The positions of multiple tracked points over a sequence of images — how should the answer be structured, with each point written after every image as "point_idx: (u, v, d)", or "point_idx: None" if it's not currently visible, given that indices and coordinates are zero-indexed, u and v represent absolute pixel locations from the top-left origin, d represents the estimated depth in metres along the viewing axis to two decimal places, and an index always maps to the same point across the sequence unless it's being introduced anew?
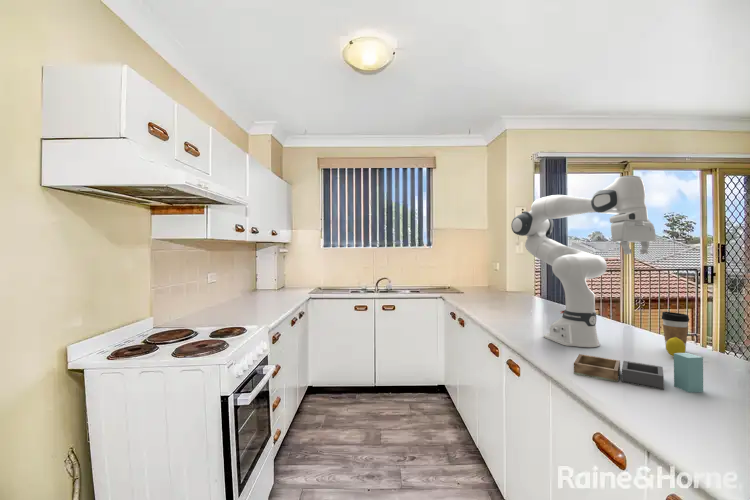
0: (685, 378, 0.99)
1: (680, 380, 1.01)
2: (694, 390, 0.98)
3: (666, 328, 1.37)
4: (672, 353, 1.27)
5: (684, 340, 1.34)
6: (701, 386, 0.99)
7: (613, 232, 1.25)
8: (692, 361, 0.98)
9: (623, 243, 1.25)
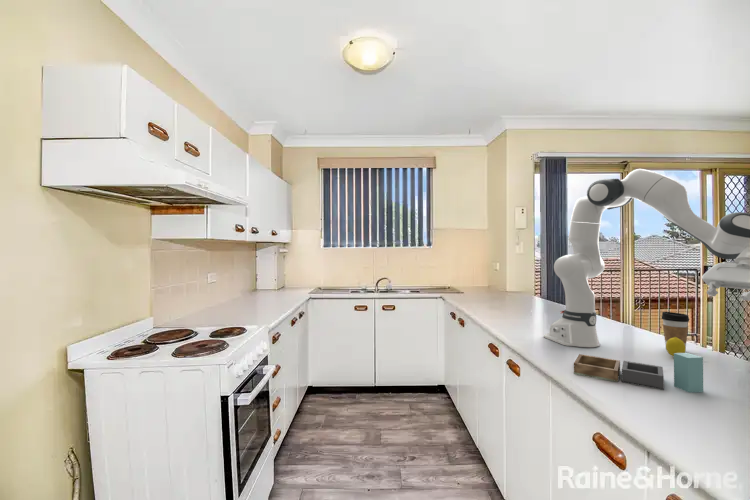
0: (685, 378, 0.99)
1: (680, 380, 1.01)
2: (694, 390, 0.98)
3: (666, 328, 1.37)
4: (672, 353, 1.27)
5: (684, 340, 1.34)
6: (701, 386, 0.99)
7: None
8: (692, 361, 0.98)
9: None
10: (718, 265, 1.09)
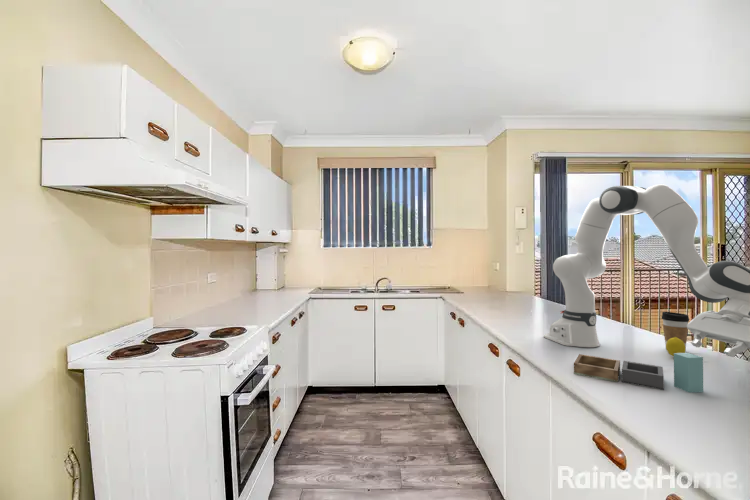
0: (684, 378, 0.99)
1: (680, 380, 1.01)
2: (694, 390, 0.98)
3: (666, 328, 1.37)
4: (672, 353, 1.27)
5: (684, 340, 1.34)
6: (701, 386, 0.99)
7: None
8: (692, 361, 0.98)
9: (744, 346, 0.95)
10: (703, 314, 1.09)
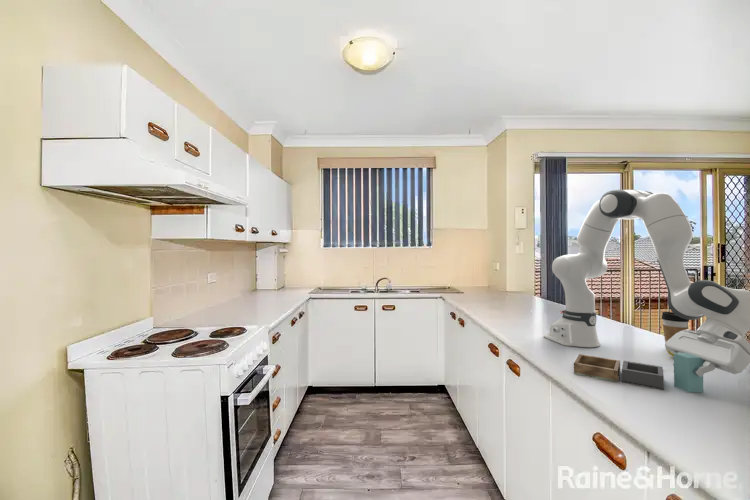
0: (684, 378, 0.99)
1: (680, 380, 1.01)
2: (694, 390, 0.98)
3: (666, 328, 1.37)
4: (672, 353, 1.27)
5: None
6: (701, 386, 0.99)
7: (739, 358, 0.91)
8: (692, 361, 0.98)
9: (711, 366, 0.96)
10: (681, 333, 1.09)
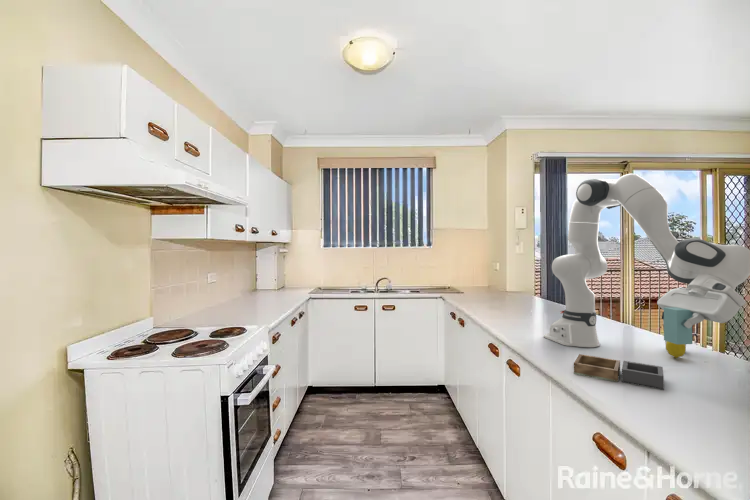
0: (673, 331, 1.01)
1: (669, 333, 1.02)
2: (683, 342, 1.00)
3: None
4: (672, 353, 1.27)
5: None
6: (690, 338, 1.00)
7: (726, 307, 0.92)
8: (681, 313, 0.99)
9: (699, 317, 0.97)
10: (673, 291, 1.09)
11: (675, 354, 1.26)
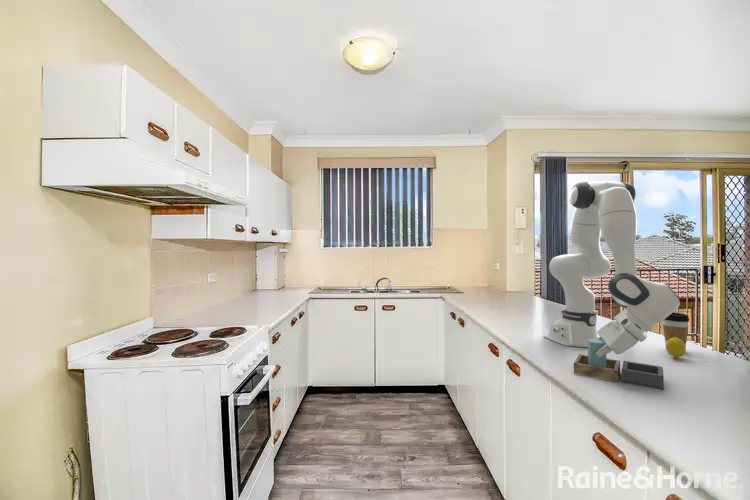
0: (589, 360, 1.15)
1: (589, 362, 1.16)
2: None
3: (666, 328, 1.37)
4: (672, 353, 1.27)
5: (684, 340, 1.34)
6: None
7: (619, 341, 1.04)
8: (594, 345, 1.13)
9: (608, 348, 1.09)
10: (611, 322, 1.20)
11: (675, 354, 1.26)
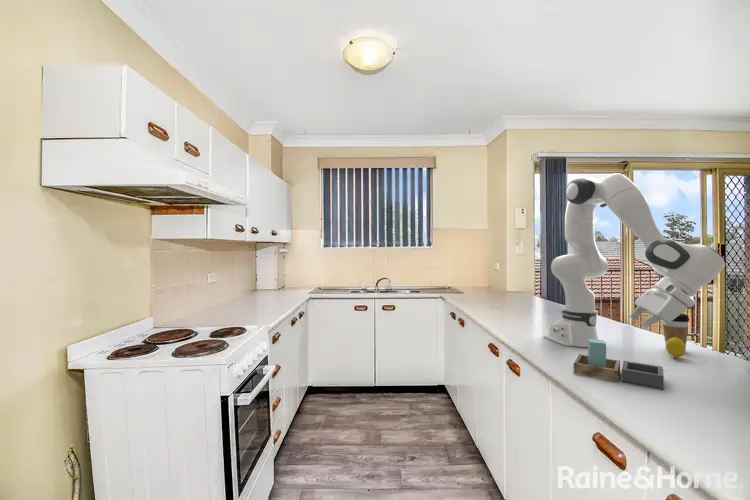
0: (589, 360, 1.15)
1: (589, 362, 1.16)
2: None
3: (666, 328, 1.37)
4: (672, 353, 1.27)
5: (684, 340, 1.34)
6: None
7: (668, 308, 0.99)
8: (594, 345, 1.13)
9: (654, 318, 1.03)
10: (649, 290, 1.15)
11: (675, 354, 1.26)
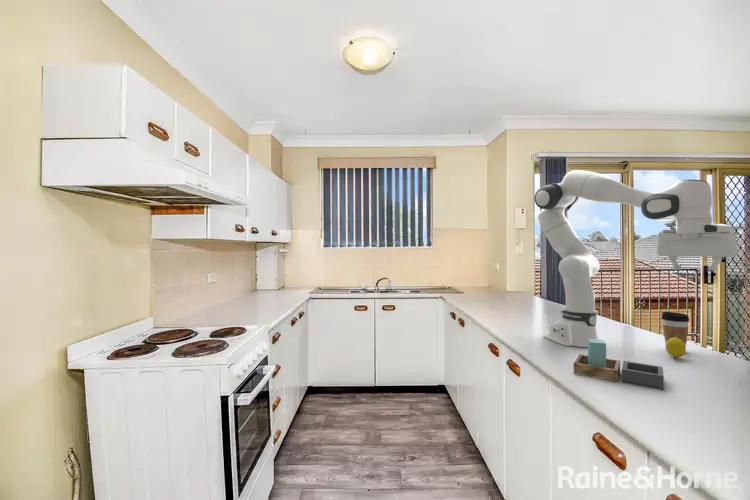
0: (589, 360, 1.15)
1: (589, 362, 1.16)
2: None
3: (666, 328, 1.37)
4: (672, 353, 1.27)
5: (684, 340, 1.34)
6: None
7: (731, 245, 1.02)
8: (594, 345, 1.13)
9: (719, 258, 1.06)
10: (663, 238, 1.19)
11: (675, 354, 1.26)
